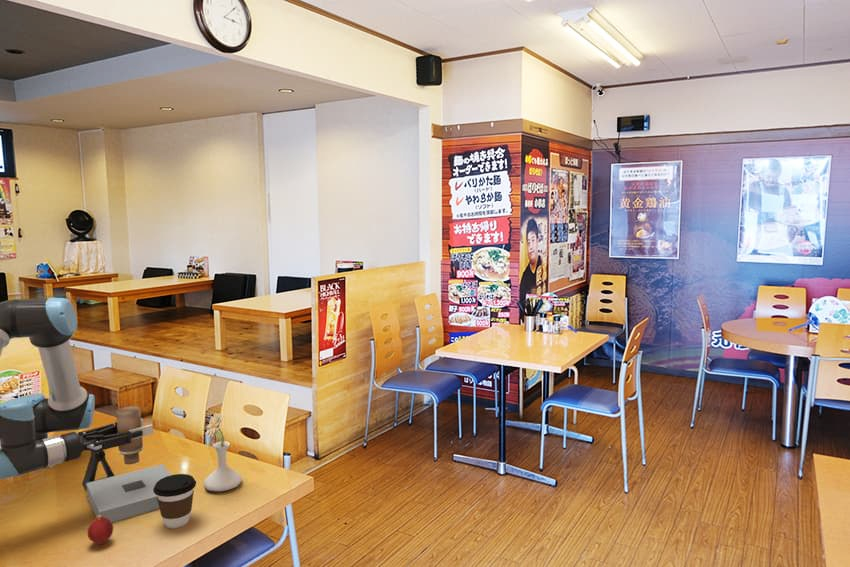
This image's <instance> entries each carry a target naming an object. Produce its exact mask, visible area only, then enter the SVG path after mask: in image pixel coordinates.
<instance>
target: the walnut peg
mask: <svg viewBox="0 0 850 567" xmlns="http://www.w3.org/2000/svg"><path fill="white" fill-rule="evenodd" d="M115 413H116V414H115V415H116V422H117V431H118V433H124V432H129V430H132V429H136V428H140V427H142V426H141V419H142V412H141V407H139V406H125V407H122V408H119V409H117V410H116V411H115ZM118 433H117V434H118ZM143 450H144V442H143V437H139V438H135V439H132V440H131V443H130V444H125V445H121V446H118V453H119V455H123V460H124V464H125V465H135V464H136V463H139V462H140V452H142V451H143Z"/></svg>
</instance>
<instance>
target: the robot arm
mask: <svg viewBox="0 0 850 567" xmlns="http://www.w3.org/2000/svg"><path fill="white" fill-rule="evenodd" d="M77 328H78V320H77V313H76V309H75V307H74V305H73V303H72V302H71V300H69V299H67V298H65V297H54V296H53V297H47V298H23V299H14V298H13V299H7V300H5V301H1V302H0V357H1V355H2V353H3V350H4V348H6V347H7V346H8V345H9V344H10V341H11V340H12V339H16V338H17V339H21V338H28V339H29V342H30V343H31V345H32V346H34V347H35V348H38V351H39V352H38V354H39V355H40V356H39V357H40V360H41V363H42V366H43V370H44V375H45V377H46V381H47V385H48V387H49V391H50V395H49V397H47V398H46V396H45V394H44V393H30V394H27V395H22V396H20V397H16V398H14V399H12V400H11V399H10V400H6V401H3V402H1V403H0V480H5V479H8V478H14V477H19V476H20V475H25V474H28V473H31V472H34V471H38V470H41V469H46V468H48V467H49V468H53V467H54V466H55V465H59V464H63V463H64V462H71V461H74V460H77V459H80V458H81V456H82V454H83V452H85V451H89V452H90V450H94V452H95V453H96V452H99V451H102V450H103V451H105V450H108V449H112V448H115V447H116V448H117V447H119V446H121V445H125V444H130V443H131V440H132V439H135V438H139V437H142V438H144V437H146V436H150V435H152V434H154V426H153V424H148V425H144V420H143V418H141V426H142V427H140V428H136V429H132V430H129V432H124V433H118V431H117V421H115V422H114V423H109V424H106V425H101V426H98V427H94V428H91V429H89V428H90V427H91V426H92V425H93V420H94V415H95V406H96V405H95V402H96V399H95V395H94V394H92V393H89V394H88V391H87V390H86V389H85V388H84V387H82V386H81V385H80V380H79V377H78V371H77V367H76V363H75V360H74V356H73V350H72V346H71V343H70V342H71V341H70V340H71V339H72V337H73V335H74V334H75V333H76V331H77ZM84 429H88V430H84ZM80 430H83V431H80ZM69 431H70V432H69ZM71 431H72V432H71ZM76 431H78V432H76ZM57 432H67V433H62V434H60V435H53V436H50V437H49V436H48V433H57Z"/></svg>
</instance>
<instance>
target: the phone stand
mask: <svg viewBox="0 0 850 567" xmlns="http://www.w3.org/2000/svg"><path fill="white" fill-rule="evenodd" d="M89 452H90V457H89V461H88V463H87V467H86V471H85V473H84V477H83V480H82V483H81V485H82V486H83V489H84V490H85V491H86V492H87V487H86V483H89V482H93V481H97V480H101V479H105V478H109V477H113V476H115V474H114V472H113V470H112V469H111V466H110V465H109V463H108V462H107V459H106V452H105V450H102V451H99V452H96V453H95V452H94V450H90V451H89ZM99 463H101V466H102V468H103V470H104V473H105V476H106V477H104V478H103V477H102V478H99V479H96V474H97V471H98V466H99ZM95 479H96V480H95Z"/></svg>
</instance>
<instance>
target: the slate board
mask: <svg viewBox="0 0 850 567" xmlns="http://www.w3.org/2000/svg"><path fill="white" fill-rule="evenodd" d="M171 475H172V474H171V473H170V471H169V470H168V469H167V468H166V466H165V465H164V464H163V463H161V464H157V465H154V466H150V467H146V468H141V469H137V470H133V471H129V472H126V473H125V472H124V473H121V474H118V475H114V476H113V477H109V478H106V477H104V478H105V479H103V478H100V479H101V480H99V479H96V480H97V481H95V480H94V481H93V482H89V483H86V487H87V491H86V497H87V498H89V499H88V501H89V503H90V505H92V506H91V508H92V510H93V512H95V513H94V515H95V518H96V517H97V516H98V515H101V516H102V517H105V518H107V519H109V520H110V521H111V523H112V524H113V523H115V522H118V521H122V520H126V519H129V518H133V517H136V516H139V515H143V514H147V513H149V512H150V513H151V512H153V511H156V510H160V509H159V505H158V501H157V495H156V494H155V493H154V492H153V489H154V486H155V484H156V483H157V482H158V481H159V480H160V479H162V478H164V477H167V476H171Z"/></svg>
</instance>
